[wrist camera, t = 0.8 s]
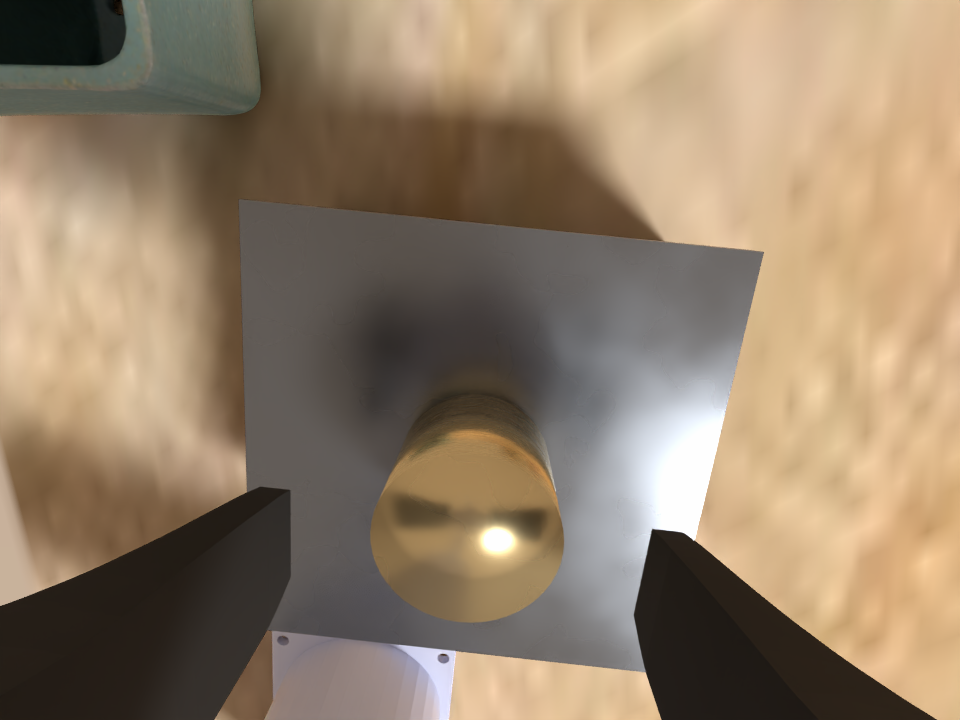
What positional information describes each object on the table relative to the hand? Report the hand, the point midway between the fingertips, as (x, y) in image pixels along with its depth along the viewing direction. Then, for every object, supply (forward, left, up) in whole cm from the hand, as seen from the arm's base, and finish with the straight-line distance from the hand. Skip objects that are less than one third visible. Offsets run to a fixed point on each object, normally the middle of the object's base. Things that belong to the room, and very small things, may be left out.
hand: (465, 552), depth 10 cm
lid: (0, 0, -5) cm, 5 cm away
